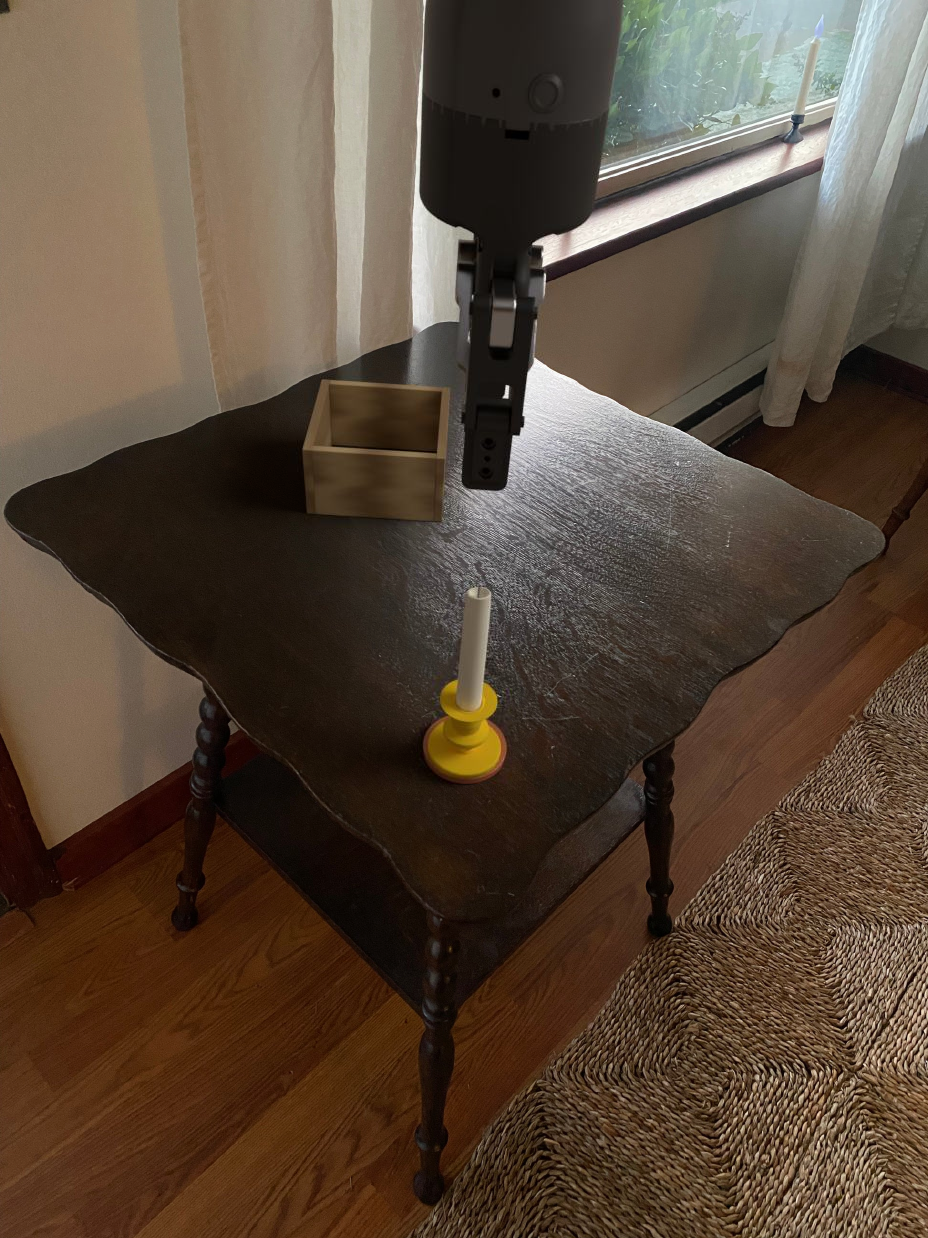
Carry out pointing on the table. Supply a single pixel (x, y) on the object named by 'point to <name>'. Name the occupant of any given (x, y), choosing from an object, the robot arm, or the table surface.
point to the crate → (377, 451)
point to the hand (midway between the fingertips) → (483, 438)
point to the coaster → (466, 780)
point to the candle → (468, 701)
